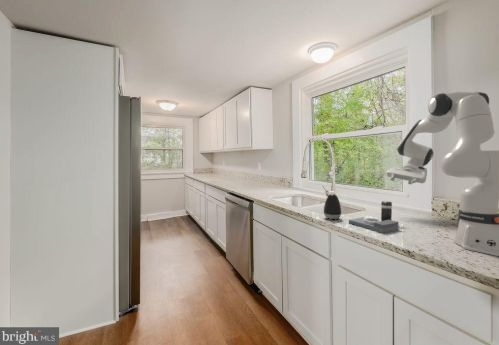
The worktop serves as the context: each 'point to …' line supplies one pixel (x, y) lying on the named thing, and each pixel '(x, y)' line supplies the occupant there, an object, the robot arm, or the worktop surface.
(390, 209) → the lens
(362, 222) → the mount
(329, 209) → the pump dispenser
